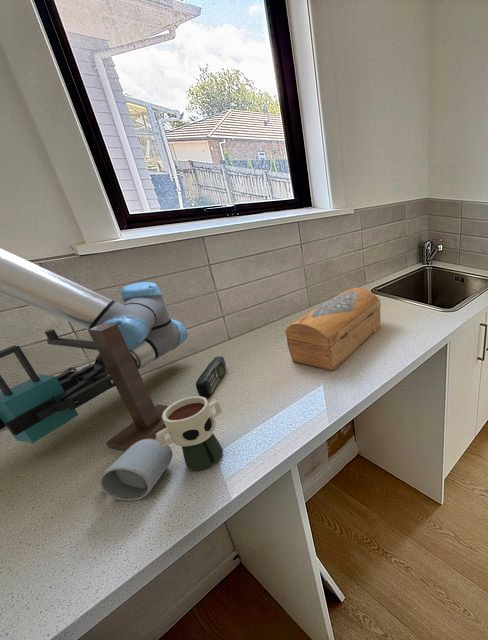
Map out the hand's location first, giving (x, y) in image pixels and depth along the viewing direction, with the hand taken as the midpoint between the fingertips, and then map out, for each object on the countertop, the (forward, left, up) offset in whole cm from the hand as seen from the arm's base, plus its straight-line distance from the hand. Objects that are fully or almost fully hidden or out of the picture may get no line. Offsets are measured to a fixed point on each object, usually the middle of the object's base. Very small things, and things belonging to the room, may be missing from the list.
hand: (0, 427), depth 61 cm
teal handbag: (0, +5, -5) cm, 7 cm away
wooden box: (+40, +56, -10) cm, 70 cm away
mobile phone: (+16, +30, -10) cm, 36 cm away
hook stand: (+9, +12, -10) cm, 18 cm away
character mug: (+33, +7, -10) cm, 35 cm away
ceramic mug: (+25, 0, -10) cm, 27 cm away
